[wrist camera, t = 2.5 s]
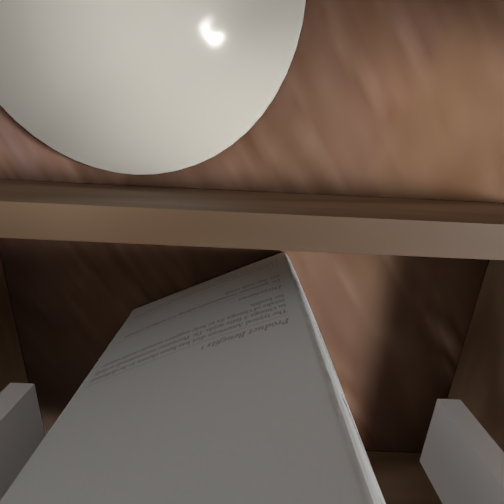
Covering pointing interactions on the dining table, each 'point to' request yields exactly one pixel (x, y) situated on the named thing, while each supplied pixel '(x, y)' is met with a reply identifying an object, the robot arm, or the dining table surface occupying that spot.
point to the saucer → (143, 75)
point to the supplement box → (208, 407)
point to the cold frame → (290, 239)
